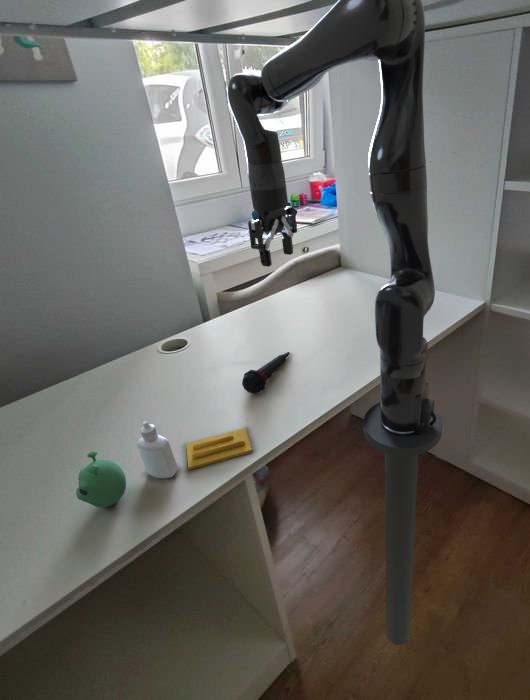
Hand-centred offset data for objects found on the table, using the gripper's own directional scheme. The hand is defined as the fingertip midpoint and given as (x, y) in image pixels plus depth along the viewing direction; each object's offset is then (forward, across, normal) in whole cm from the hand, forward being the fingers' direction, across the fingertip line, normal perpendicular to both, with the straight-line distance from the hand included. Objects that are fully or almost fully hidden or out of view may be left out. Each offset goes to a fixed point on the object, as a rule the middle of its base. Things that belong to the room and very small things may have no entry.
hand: (278, 259), depth 101 cm
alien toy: (+28, -52, +4) cm, 59 cm away
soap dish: (+27, -33, -4) cm, 43 cm away
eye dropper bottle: (+28, -43, +1) cm, 51 cm away
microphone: (+28, -8, +1) cm, 29 cm away
